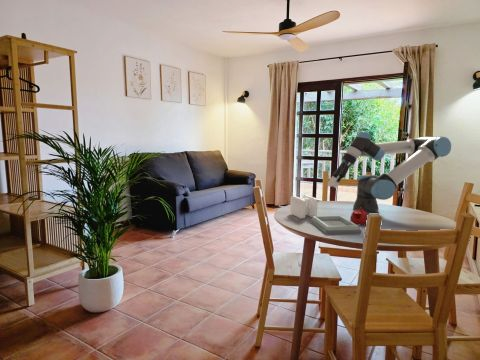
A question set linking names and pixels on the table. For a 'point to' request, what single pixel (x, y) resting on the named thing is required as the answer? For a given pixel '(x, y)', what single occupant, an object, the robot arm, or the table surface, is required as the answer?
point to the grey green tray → (335, 225)
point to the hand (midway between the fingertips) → (331, 186)
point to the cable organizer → (303, 206)
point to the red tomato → (359, 217)
